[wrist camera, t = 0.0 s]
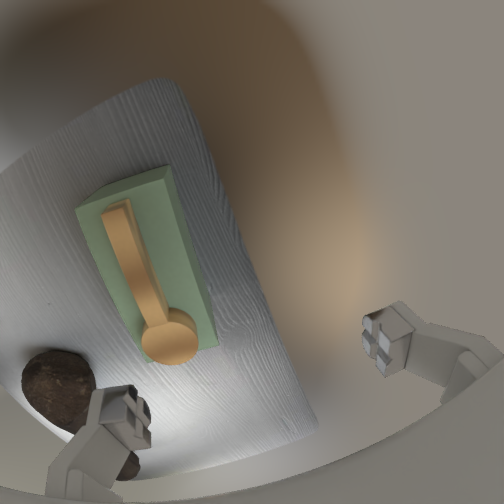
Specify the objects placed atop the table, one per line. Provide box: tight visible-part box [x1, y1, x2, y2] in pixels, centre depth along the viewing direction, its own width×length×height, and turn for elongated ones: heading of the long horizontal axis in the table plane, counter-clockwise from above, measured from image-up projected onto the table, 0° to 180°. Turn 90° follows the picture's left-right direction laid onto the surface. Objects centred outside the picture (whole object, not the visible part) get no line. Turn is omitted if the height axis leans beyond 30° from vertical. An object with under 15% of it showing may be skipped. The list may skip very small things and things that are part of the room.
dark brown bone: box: [21, 351, 140, 481], centre depth 33 cm, size 11×10×28 cm
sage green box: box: [74, 164, 219, 363], centre depth 25 cm, size 15×7×8 cm, turn 12°
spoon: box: [101, 199, 199, 365], centre depth 21 cm, size 14×5×2 cm, turn 12°
